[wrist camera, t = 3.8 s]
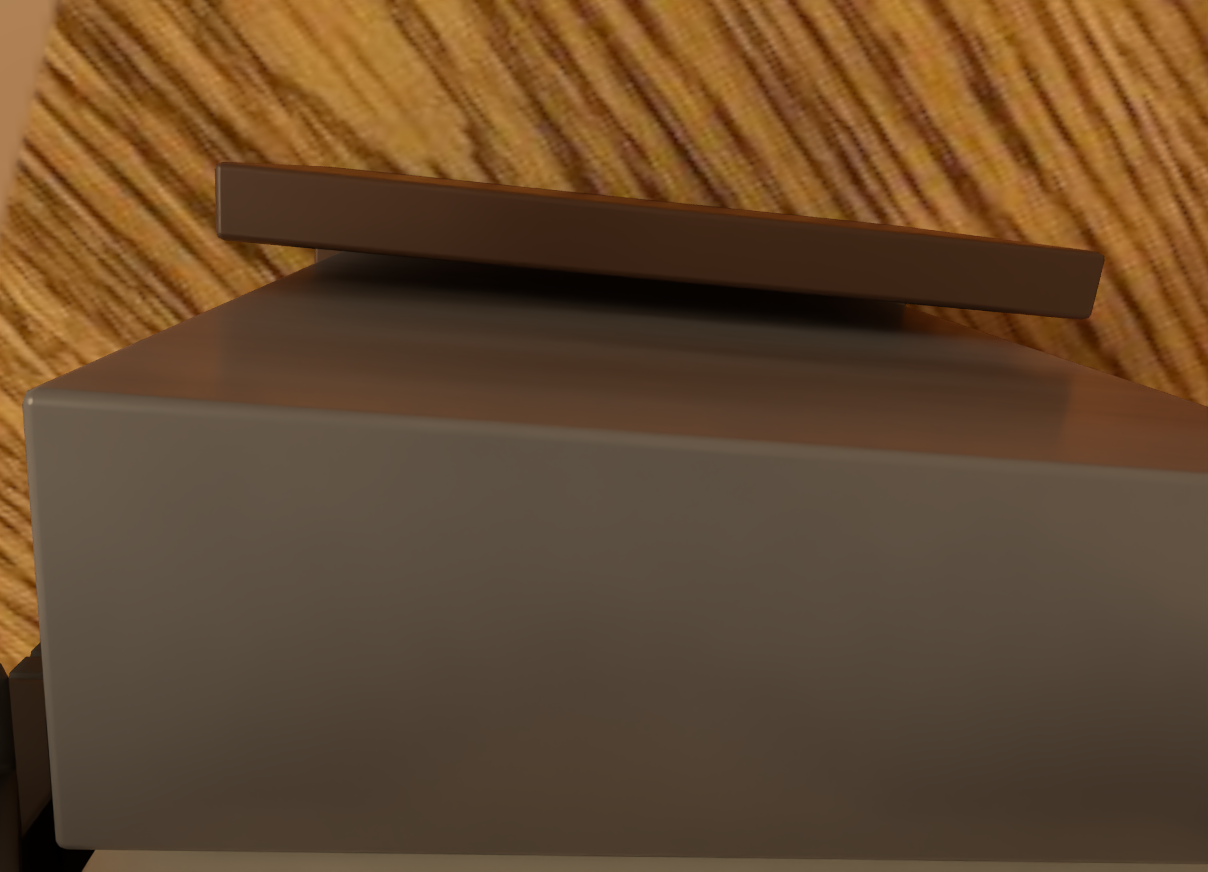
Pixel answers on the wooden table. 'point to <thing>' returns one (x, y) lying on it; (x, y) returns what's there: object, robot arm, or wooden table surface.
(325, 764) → the walnut book rack
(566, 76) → the wooden table surface
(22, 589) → the wooden table surface
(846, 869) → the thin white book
